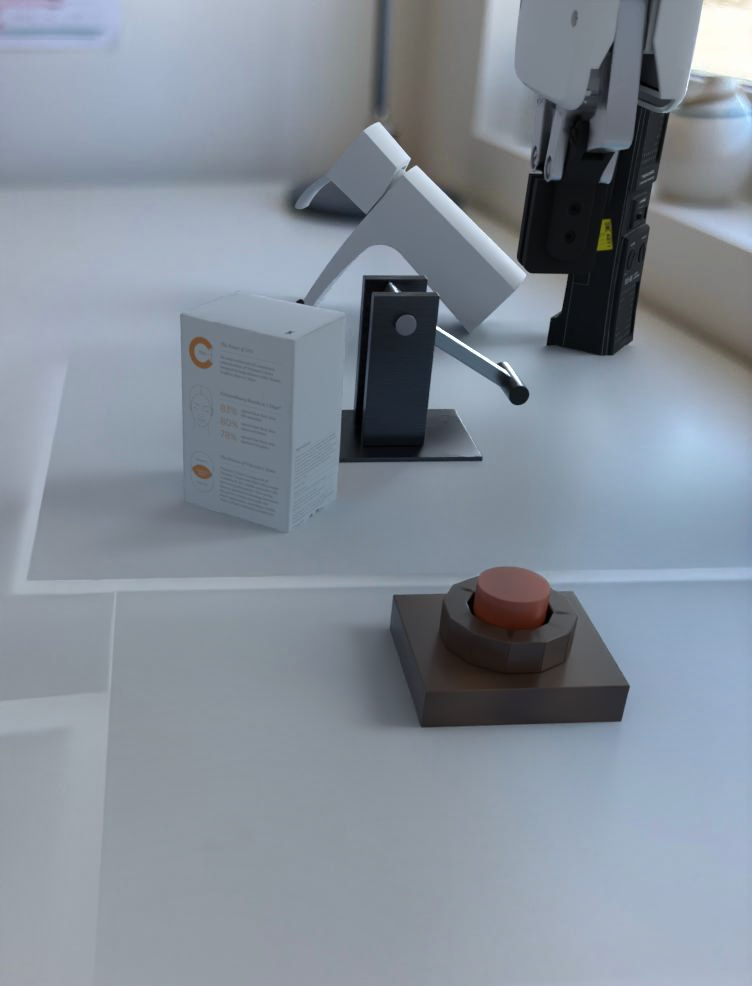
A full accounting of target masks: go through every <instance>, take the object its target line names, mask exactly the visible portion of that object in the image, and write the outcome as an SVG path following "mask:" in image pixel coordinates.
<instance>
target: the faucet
mask: <svg viewBox="0 0 752 986" xmlns="http://www.w3.org/2000/svg"><path fill="white" fill-rule="evenodd" d="M411 159H412V158H411V157H410V156H409V154H407V152H406V151H405V150H404V149H403V147H401V145H400V144H399V143H398V142H397V141H396V139H395V138H394V137H393V136H392V134H390V132H389V131H388V130H387V129H386V128H385V127H384V126H383V124H382V123H381V122H380V121H377V122H375V123H372V124H371V125H369V126H368V127H366V128H365V129H363V130H362V131H361V133H360V134H359V135H358V136H357V137H356V138H355V139H354V141H353V142H352V143H351V144H350V145H349V147H347V149H346V150H345V151H344V152H343V153H342V155H341V156H340V157H339V158H338V160H336V161H335V163H334V165H333V166H332V167H331V168H330V169H329V170H328V171H327V173H326V174H325V175H323V176H321V177H320V178H319V179H317V180H316V181H314V182H313V183H312V184H310V185H309V186H308V187H307V188H306V189H305V190H304V192H303V193H302V194H301V195H300V196H299V198H298V199H297V201H296V202H295V205H294V208H295V209H296V210H303V209H305V208H307V207H309V206H310V204H311V202H312V200H313V199H314V197H315V196H316V195H317V194H318V192H319V191H320V190H321V189H322V188H324V187H325V186H326V185H327V184H328V183H330V182H332V183H333V184H334V185H335V186H337V188H338V189H339V190H340V191H341V192H342V193H343V194H344V195H345V196H347V198H348V199H350V201H351V202H353V204H355V205H356V206H357V207H358V208H359V209H360V210H361V212H363V213H364V214H365V215H366V216H365V217H364V218H363V219H362V220H361V221H360V223H358V225H357V226H356V227H355V229H354V230H353V231H352V232H351V233H350V234H349V236H348V237H347V238H346V239H345V241H343V243H342V245H340V247H339V248H338V249H337V251H336V252H335V253H334V255H332V258H331V259H330V260H329V262H328V263H327V265H326V266H325V267H324V268H323V270H322V271H321V273H320V274H319V275H318V277H317V279H316V280H315V282H314V283H313V285H312V286H311V288H310V289H309V291H308V292H307V293H306V296H305V297H304V298H303V299H302V300H303V301H304V304H305V305H309V306H313V307H317V305H319V304H320V303H321V302H322V301H323V300H324V299H325V298H326V296H327V295H328V294H329V293H330V291H331V290H332V288H333V287H334V286H335V285H336V283H337V282H338V281H339V280H340V278H341V277H342V276H344V275H343V274H344V273H345V272H346V271H347V270H348V269H349V268H350V267H351V266H352V265H353V263H355V261H356V260H358V258H359V257H361V255H362V254H364V252H366V251H367V250H368V249H369V248H371V247H373V246H374V247H375V246H385V247H389V248H392V250H393V249H394V250H395V251H397V252H398V254H400V256H401V257H403V259H404V260H405V261H406V262H407V263H408V265H409V266H410V267H411V268H412V269H413V270H414V271H415V273H416V274H417V275H425V276H426V278H427V279H428V283H427V287H428V288H430V290H431V292H437V293H438V295H439V296H440V300H439V301H440V302H442V304H444V306H445V307H446V308H447V309H448V310H449V312H450V313H451V314H452V315H453V316H454V317H455V319H457V321H458V322H459V323H460V324H461V326H463V328H464V329H465V330H466V331H467V332H468V333H469V334H471V333H472V332H473V331H475V329H477V328H478V327H479V326H480V325H481V324H482V323H483V322H484V321H485V320H486V319H487V318H488V317H490V316H491V315H492V314H493V313H494V312H495V311H496V310H497V309H498V308H499V307H500V306H501V305H503V303H504V302H505V301H506V300H508V299H509V297H511V295H513V294H514V293H515V292H516V291H517V289H519V287H520V286H521V284H522V283H523V281H524V280H525V278H526V276H527V273H525V272H524V270H522V269H521V267H519V266H518V265H517V264H516V262H514V261H513V259H511V257H510V256H509V255H508V254H506V253H505V252H504V250H502V248H500V247H499V245H497V243H496V242H494V241H493V239H491V238H490V236H488V234H486V233H485V232H484V231H483V230H482V228H480V227H479V226H478V225H477V224H476V223H475V221H473V219H471V218H470V217H469V215H467V214H466V213H465V211H463V209H461V208H460V206H458V205H457V204H456V203H455V202H454V201H453V200H452V199H451V198H450V197H449V196H448V195H447V194H446V193H445V192H444V191H443V190H442V189H441V188H440V187H439V186H438V185H437V184H436V183H435V182H434V181H433V180H432V179H431V178H430V177H429V176H428V175H427V173H425V172H424V171H423V170H422V169H421V168H420V167H419V166H418V165H414V166H412V167H411V168H410V169H408V170H407V168H408V166H409V164H410V161H411ZM406 170H407V171H406Z"/></svg>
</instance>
